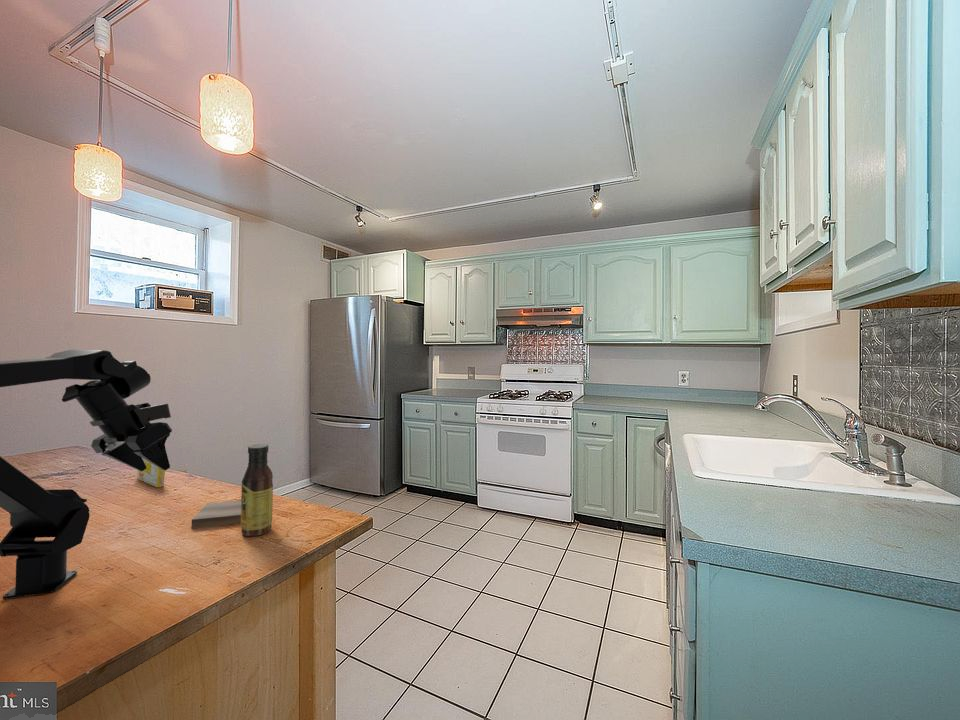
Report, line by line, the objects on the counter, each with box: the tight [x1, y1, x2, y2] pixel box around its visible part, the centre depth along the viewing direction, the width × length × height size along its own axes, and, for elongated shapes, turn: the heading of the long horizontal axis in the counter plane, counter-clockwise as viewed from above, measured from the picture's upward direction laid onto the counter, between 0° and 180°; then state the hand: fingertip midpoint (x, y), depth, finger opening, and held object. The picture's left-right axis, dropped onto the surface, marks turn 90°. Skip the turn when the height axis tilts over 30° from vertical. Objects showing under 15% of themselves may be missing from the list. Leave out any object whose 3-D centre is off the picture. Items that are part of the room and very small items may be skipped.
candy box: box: [136, 458, 166, 488], centre depth 122 cm, size 16×2×8 cm, turn 58°
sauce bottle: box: [240, 443, 274, 537], centre depth 89 cm, size 7×6×20 cm
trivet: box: [191, 499, 241, 529], centre depth 97 cm, size 11×11×2 cm
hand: (155, 469), depth 84 cm, fingers open, 9 cm apart
